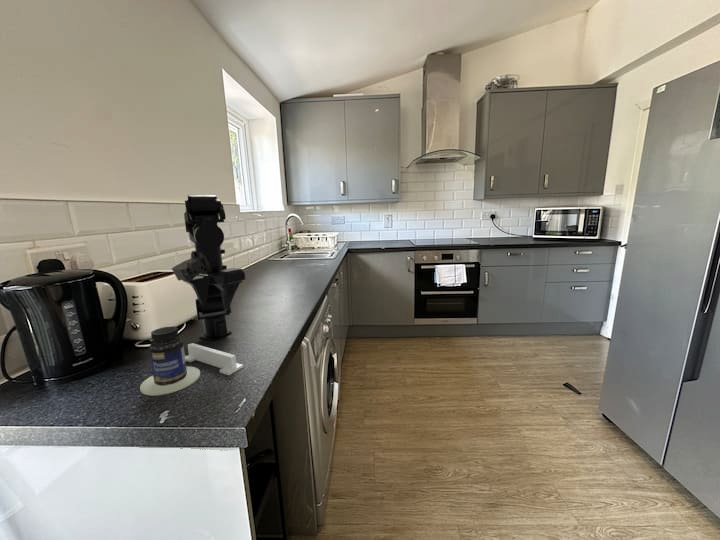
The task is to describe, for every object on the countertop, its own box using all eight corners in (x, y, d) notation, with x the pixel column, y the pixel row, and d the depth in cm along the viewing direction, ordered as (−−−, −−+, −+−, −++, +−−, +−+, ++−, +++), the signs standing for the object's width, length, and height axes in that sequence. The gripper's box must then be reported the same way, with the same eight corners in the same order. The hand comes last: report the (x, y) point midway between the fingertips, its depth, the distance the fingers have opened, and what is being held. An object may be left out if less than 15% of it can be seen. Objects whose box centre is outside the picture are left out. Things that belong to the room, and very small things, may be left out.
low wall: (182, 359, 74) (180, 346, 73) (197, 353, 78) (196, 340, 77) (228, 375, 66) (227, 360, 65) (243, 367, 70) (241, 353, 69)
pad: (129, 387, 62) (129, 385, 62) (181, 364, 72) (181, 362, 72) (159, 401, 57) (158, 399, 57) (210, 374, 67) (210, 372, 67)
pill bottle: (152, 389, 60) (143, 338, 58) (156, 375, 66) (148, 328, 64) (187, 381, 63) (180, 332, 61) (188, 368, 68) (181, 323, 67)
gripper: (152, 248, 72) (162, 310, 75) (201, 251, 63) (209, 321, 66) (196, 244, 81) (203, 299, 84) (244, 246, 73) (249, 307, 75)
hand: (215, 306), depth 77 cm, fingers open, 9 cm apart
